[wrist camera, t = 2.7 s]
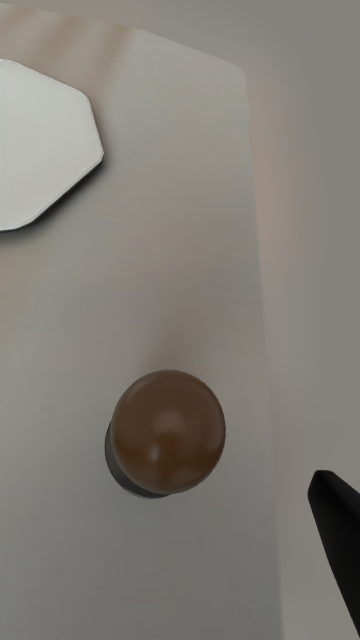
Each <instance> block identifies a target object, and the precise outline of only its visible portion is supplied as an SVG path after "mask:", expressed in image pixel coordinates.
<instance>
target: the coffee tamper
mask: <svg viewBox="0 0 360 640" xmlns="http://www.w3.org/2000/svg"><path fill="white" fill-rule="evenodd" d="M225 438H226V426H225V418H224V414H223V411H222V408H221V405H220V403H219V401H218V399H217V398H216V396H215V394H214V393H213V392H212V390H211V389H210V388H209V387H208V386H207V385H206V384H205V383H204V382H202V381H201V380H200V379H198V378H197V377H195V376H193V375H191V374H188V373H186V372H182V371H177V370H160V371H156V372H152V373H150V374H147V375H145V376H143V377H141V378H139V379H138V380H137V381H135V382H134V383H133V384H132V385H131V386H130V387H128V388H127V390H126V391H125V392H124V393H123V395H122V396H121V398H120V399H119V401H118V403H117V405H116V407H115V410H114V413H113V416H112V420H111V422H110V424H109V426H108V429H107V433H106V437H105V456H106V461H107V465H108V467H109V470H110V472H111V474H112V476H113V477H114V479H115V480H116V481H117V482H118V484H119V485H120V486H121V487H122V488H124V489H125V490H126V491H128V492H129V493H131V494H133V495H135V496H138V497H142V498H149V499H155V498H162V497H166V496H169V495H171V494H176V493H181V492H184V491H187V490H189V489H191V488H193V487H195V486H197V485H198V484H199V483H201V482H202V481H203V480H204V479H206V478H207V477H208V476H209V474H210V473H211V472H212V471H213V469H214V468H215V466H216V465H217V463H218V461H219V459H220V457H221V455H222V452H223V448H224V444H225Z"/></svg>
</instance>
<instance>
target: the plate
mask: <svg viewBox="0 0 360 640" xmlns="http://www.w3.org/2000/svg"><path fill="white" fill-rule="evenodd" d="M103 157H104V151H103V148H102V144H101V141H100V137H99V134H98V130H97V127H96V123H95V120H94V116H93V112H92V109H91V105H90V102H89V99H88V98H87V97H86V96H85V95H84V94H83V93H82V92H81V91H78V90H76V89H74V88H72V87H70V86H67V85H65V84H63V83H61V82H58V81H56V80H54V79H52V78H49V77H47V76H45V75H43V74H41V73H38V72H36V71H34V70H32V69H29V68H27V67H25V66H23V65H20V64H18V63H16V62H14V61H9V60H4V59H0V233H3V232H11V231H18V230H20V229H22V228H25V227H27V226H29V225H32V224H33V223H34V222H35V221H36V220H38V219H39V218H40V217H41V216H42V215H43V214H44V213H46V212H47V211H48V210H49V209H50V208H51V207H52V206H53V205H55V204H56V203H57V202H58V201H59V200H60V199H61V198H63V197H64V196H65V195H66V194H67V193H68V192H69V191H71V190H72V189H73V188H74V187H75V186H76V185H77V184H79V183H80V182H81V181H82V180H83V179H84V178H85V177H87V176H88V175H89V174H90V173H91V172H92V171H93V170H95V169H96V168H97V167H98V166H99V165H100V164H101V163H102V160H103Z"/></svg>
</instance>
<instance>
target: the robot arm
mask: <svg viewBox="0 0 360 640" xmlns="http://www.w3.org/2000/svg"><path fill="white" fill-rule="evenodd" d="M308 500H309V503H310V506H311V509H312V513H313V516H314V519H315V522H316V525H317V528H318V531H319V534H320V537H321V540H322V544H323V546H324V550H325V553H326V556H327V559H328V561H329V564H330V567H331V569H332V572H333V575H334V577H335V579H336V581H337V584H338V587H339V589H340V591H341V594H342V596H343V599H344V601H345V604H346V606H347V608H348V611H349V613H350V616H351V618H352V620H353V623H354V625H355V628H356V630H357V633H358V635H359V637H360V493H358V492H357V491H356V490H354V489H353V488H352V487H351V486H350V485H348V484H347V483H346V482H345V481H343V480H342V479H341V478H340V477H338V476H337V475H336V474H335V473H333V472H332V471H327V470H317V471H316V472H315V473H314V475H313V478H312V480H311V483H310V486H309V489H308Z"/></svg>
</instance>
